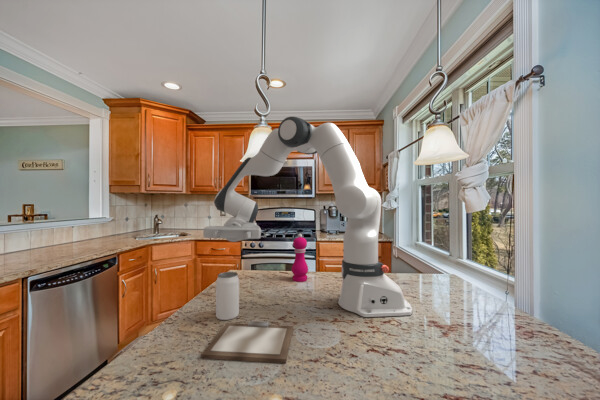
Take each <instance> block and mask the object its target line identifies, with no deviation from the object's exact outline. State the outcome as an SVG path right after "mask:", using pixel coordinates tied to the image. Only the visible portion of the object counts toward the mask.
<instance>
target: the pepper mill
mask: <svg viewBox="0 0 600 400" xmlns="http://www.w3.org/2000/svg"><path fill="white" fill-rule="evenodd" d="M292 245H293V247H294V249H293V250H294V255H295V257H294V258H295V259H294V261H293V264H292V265H291V272H292V274H293V275H292V281H293V282H297V283H304V282H307V280H308V273H309V266H308V264H307V260H306V256H305V254H306V247H307V245H308V242H307V239H306V238H305V237H303V235H302V233H298V235H297V237H296V238H294V240H293V242H292Z"/></svg>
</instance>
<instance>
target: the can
mask: <svg viewBox="0 0 600 400" xmlns="http://www.w3.org/2000/svg"><path fill="white" fill-rule="evenodd" d="M238 275H239V274H238V273H237V272H236V271H235V272H234V271H226V272H225V271H224V272H221V273H218V274H217V279H216V281H215V283H216V286H215V291H216V292H215V317H216V319H218V320H219V321H231V320H234V319H236V318H237V317H238V316H239V314H240V278H239V276H238Z"/></svg>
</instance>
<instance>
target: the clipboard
mask: <svg viewBox="0 0 600 400" xmlns="http://www.w3.org/2000/svg"><path fill="white" fill-rule="evenodd" d="M293 332H294V326H293V325H277V324H274V325H273V324H270V321H255V320H250V321H249V323H236V322H235V323H233V322H231V323H230V322H226V323H225V324H224V325H223V327H222V328H221V329H220V330H219V332H218V333H217V334H216V335H215V336H214V338H213V339H212V340H211V341H210V343H209V344H208V345H207V346H206V348H205V349H204V350H203V351H202V353H201V355H200V358H201V359H209V360H225V361H227V360H228V361H241V362H242V361H246V362H261V363H278V364H286V363H287V358H288V354H289V351H290V346H291V341H292V336H293Z"/></svg>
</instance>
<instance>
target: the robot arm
mask: <svg viewBox="0 0 600 400" xmlns="http://www.w3.org/2000/svg"><path fill="white" fill-rule="evenodd" d="M292 152H297V153H300V154H304V155H305V154H306V155H316V154H317V155H318V157H319V159H320V161H321V163H322V165H323V167H324V169H325V171H326V174H327V175H328V177H329V180H330V182H331V186H332V190H333V193H334V196H335V202H334V203H335V206H336V209H337V211H338V212H339V213H340V214H341V215H342V216H343V217H345V218H347V222H346V226H345V231H344V234H343V247H342V248H343V250H342V254H343V259H342V261H341V278H342V284H341V291H340V293H339V294H340V295H339V298H338V302H337V303H338V305H339V306H340V307H341V308H342V309H344V310H346V311H348V312H350V313H355V314H357V315H359V316H360V317H364V318H376V317H380V318H381V317H394V316H395V317H399V316H411V315H412V314H413V308H412V305H411V304H410V303H409V301H407V300H406V299H405V297H404V293H403V290H402V289H401V287H400V286H399V285H398V284H397V283H396V282H395V281H394V280H393V279H391V278H390V277H389V276H387V275H386V273H389V271H390V268H389V266H388V265H386V264H384V263H382V262H381V261H379V233H380V232H379V231H380V226H381V225H380V224H381V215H382V214H381V213H382V212H381V210H382V197H381V195H380V193H379V192H378V191H377V190H376V189H375V188H373V187H370V186H369V185H368V183H367V180H366V179H365V176H364V173H363V171H362V168H361V164H360V162H359V159H358V158H357V156H356V154H355V152H354V151H353V149H352V147H351V145H350V143H349V141H348V140H347V138H346V137H345V135H344V133H343V132H342V130H341V129H340V128H339V127H338V126H337V125H336V124H335V123H333V122H324V123H322V124H320V125H318V126H314V124H311V123H310V122H308V121H306V120H304V119H303V118H301V117H298V116H288V117H285V118H284V119H283V120H281V122H280V123H279V126H278V128H274V129H273V130H271V131H270V133H269V134H268V136H267V137H266V138H265V140H264V141H263V143H262V144H261V147H260V149H259V151H258V152H257V153H256V154H255V155H253V156H252V157H247V158H245V160H243V161H242V163H241V164H240V165H239V166H238V167H237V169H236V171H234V173H233V174H232V175H231V177H230V178H229V180H228V181H227V183H226V184H225V185H224V187H222V188H221V189H220V190H219V191H218V192H217V194H216V196H215V197H214V200H213V204H214V206H215V209H216V210H218V211H219V212H222V213H226V214H228V215H231V216H232V217H230V218H228V219H227V220H226V222H225V223H223V225H208V226H205V227H204V228H203V233H202V234H203V238H205V239H225V240H226V241H228V242H232V243H236V242H240V241H243V240H244V241H245V240H259V239H261V238H262V237H261V235H262V229H261V227H260V226H259V224H257V222H255V221H256V218H257V215H258V212H259V206H258V202H257V201H255V200H253V199H250V198H249V197H247V196H245V195H242V194H240V193H239V192H237V191H236V190H235V189H236V188H237V186H238V185H239V183H241V181H242V180H243V178H245V177H246V176H259V177H270V176H271V177H272V176H275V175H276V174H278V173H280V170H281V169H282V167H283V166H284V164H285V162H286V160H287V158H288V156H289V155H290V154H291V153H292Z"/></svg>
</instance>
